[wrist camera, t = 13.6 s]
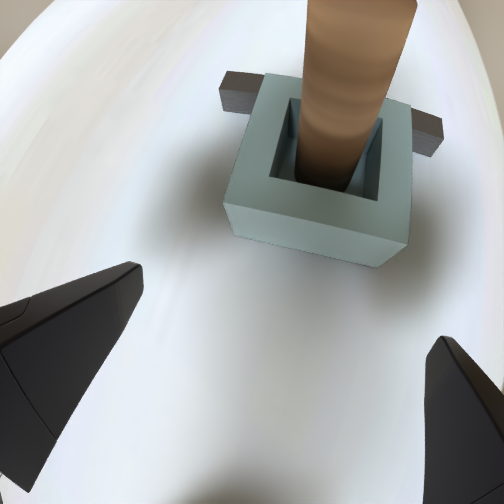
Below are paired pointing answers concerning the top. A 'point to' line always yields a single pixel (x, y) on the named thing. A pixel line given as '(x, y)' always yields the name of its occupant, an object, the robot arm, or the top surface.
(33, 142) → the top surface
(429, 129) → the backstop bar
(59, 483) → the top surface
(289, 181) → the socket block
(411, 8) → the dowel
